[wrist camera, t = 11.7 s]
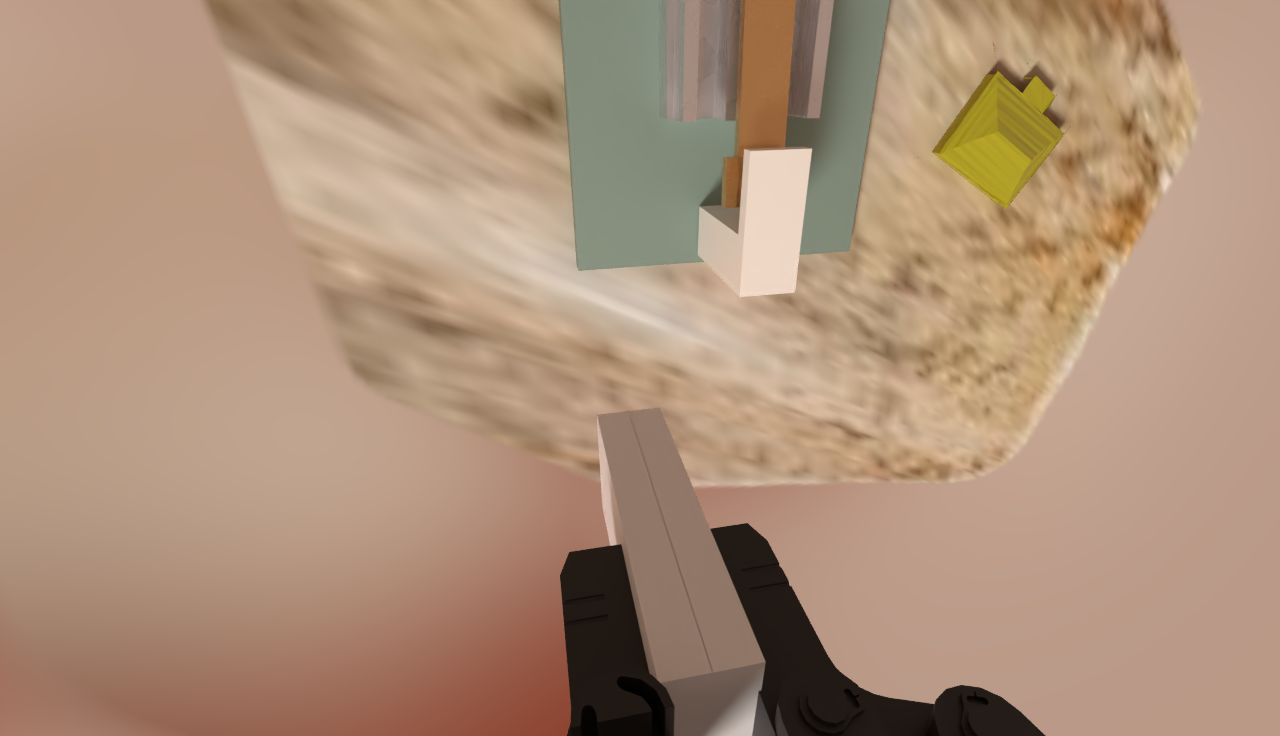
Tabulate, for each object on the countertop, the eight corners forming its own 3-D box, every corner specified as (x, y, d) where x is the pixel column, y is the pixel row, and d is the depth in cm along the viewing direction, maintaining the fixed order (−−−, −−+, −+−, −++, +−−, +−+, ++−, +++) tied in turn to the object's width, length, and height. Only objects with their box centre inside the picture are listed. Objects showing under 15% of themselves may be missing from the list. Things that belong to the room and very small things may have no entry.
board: (537, -306, 24) (544, -431, 18) (919, -271, 27) (1033, -369, 21) (576, 264, 36) (588, 302, 30) (840, 246, 38) (898, 277, 33)
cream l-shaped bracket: (701, 134, 32) (750, 150, 25) (751, 133, 33) (812, 148, 26) (697, 254, 35) (739, 297, 29) (743, 251, 36) (794, 292, 29)
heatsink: (658, -61, 28) (678, -81, 24) (810, -58, 29) (850, -76, 25) (658, 116, 31) (676, 122, 28) (793, 113, 33) (825, 117, 29)
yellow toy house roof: (894, 160, 37) (921, 166, 35) (990, 21, 34) (1027, 17, 32) (986, 230, 41) (1016, 240, 39) (1080, 110, 38) (1119, 113, 36)
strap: (733, -218, 23) (742, -232, 22) (816, -212, 23) (829, -226, 22) (720, 205, 29) (726, 208, 28) (784, 202, 30) (793, 204, 29)
